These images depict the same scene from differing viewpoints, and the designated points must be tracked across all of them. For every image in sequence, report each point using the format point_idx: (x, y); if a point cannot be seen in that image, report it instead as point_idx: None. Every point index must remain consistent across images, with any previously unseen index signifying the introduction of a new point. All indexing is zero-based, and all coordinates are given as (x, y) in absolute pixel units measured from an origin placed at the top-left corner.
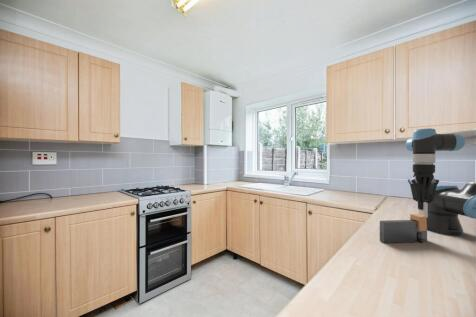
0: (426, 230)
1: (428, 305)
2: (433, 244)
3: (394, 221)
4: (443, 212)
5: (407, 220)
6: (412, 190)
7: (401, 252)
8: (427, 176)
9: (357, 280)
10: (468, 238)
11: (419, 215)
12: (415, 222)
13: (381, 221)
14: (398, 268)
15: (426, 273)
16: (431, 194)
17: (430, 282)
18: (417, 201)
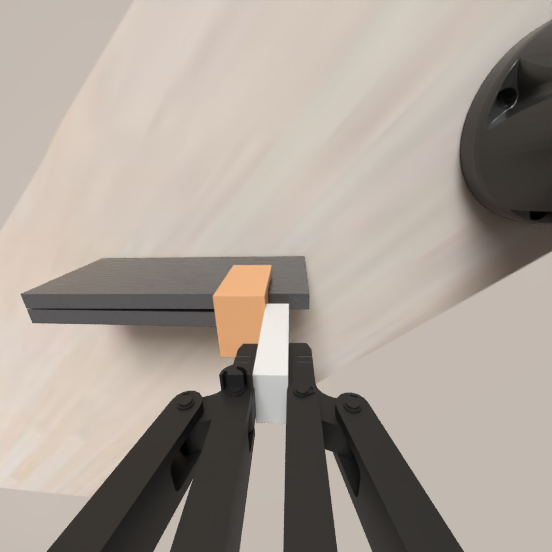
0: None
1: (59, 485)
2: None
3: (96, 314)
4: None
5: (184, 303)
6: (73, 543)
7: (129, 342)
8: None
9: None
10: (534, 251)
11: (249, 328)
12: (214, 324)
13: (26, 306)
14: (70, 408)
15: (119, 428)
16: (361, 516)
17: (104, 449)
18: (218, 394)
